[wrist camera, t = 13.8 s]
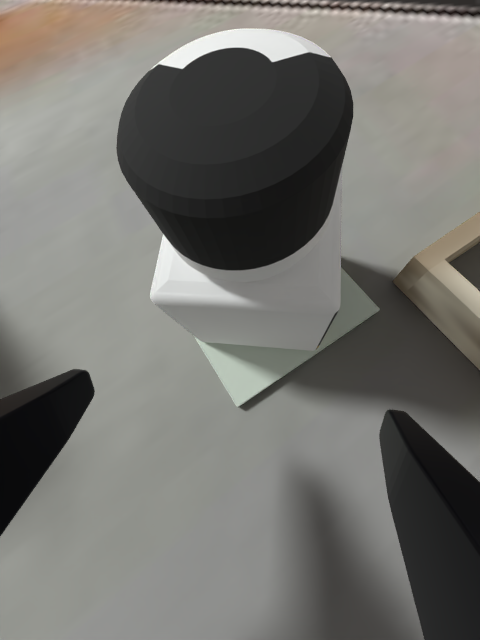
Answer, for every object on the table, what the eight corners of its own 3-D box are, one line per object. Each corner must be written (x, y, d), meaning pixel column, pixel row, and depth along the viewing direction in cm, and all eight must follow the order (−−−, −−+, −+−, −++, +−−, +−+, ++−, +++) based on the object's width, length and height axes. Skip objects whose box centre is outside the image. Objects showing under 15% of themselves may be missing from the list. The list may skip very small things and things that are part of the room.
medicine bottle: (317, 352, 16) (399, 216, 5) (199, 342, 17) (37, 217, 6) (321, 243, 18) (384, -34, 7) (215, 242, 19) (116, 6, 8)
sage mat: (377, 312, 17) (380, 309, 16) (238, 407, 16) (237, 407, 16) (279, 205, 20) (279, 200, 20) (162, 281, 20) (159, 278, 19)
